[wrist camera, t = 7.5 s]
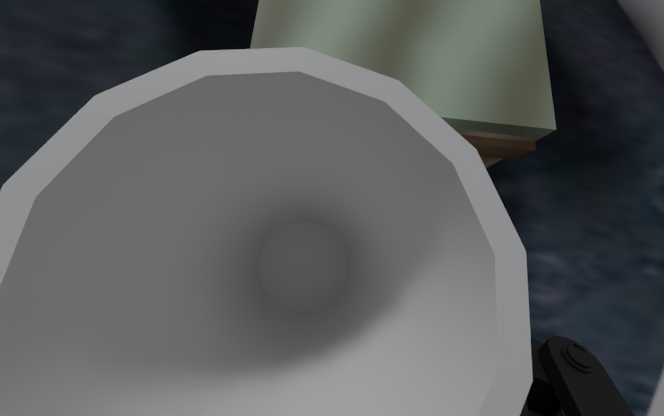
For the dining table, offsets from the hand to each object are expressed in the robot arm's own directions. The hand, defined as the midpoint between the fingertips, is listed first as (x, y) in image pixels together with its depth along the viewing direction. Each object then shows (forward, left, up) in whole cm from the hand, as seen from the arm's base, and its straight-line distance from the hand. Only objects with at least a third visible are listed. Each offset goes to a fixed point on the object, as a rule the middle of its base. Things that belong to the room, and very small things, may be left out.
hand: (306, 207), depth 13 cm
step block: (+4, +11, -4) cm, 12 cm away
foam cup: (0, -3, -5) cm, 6 cm away
